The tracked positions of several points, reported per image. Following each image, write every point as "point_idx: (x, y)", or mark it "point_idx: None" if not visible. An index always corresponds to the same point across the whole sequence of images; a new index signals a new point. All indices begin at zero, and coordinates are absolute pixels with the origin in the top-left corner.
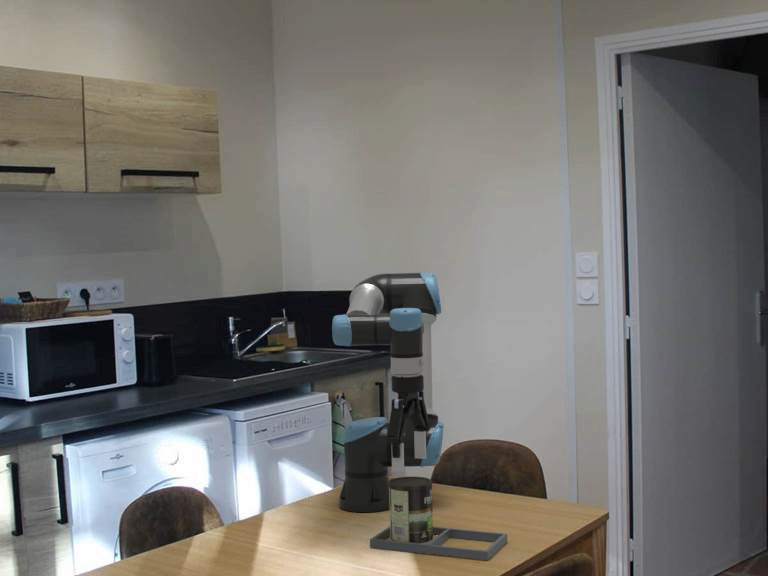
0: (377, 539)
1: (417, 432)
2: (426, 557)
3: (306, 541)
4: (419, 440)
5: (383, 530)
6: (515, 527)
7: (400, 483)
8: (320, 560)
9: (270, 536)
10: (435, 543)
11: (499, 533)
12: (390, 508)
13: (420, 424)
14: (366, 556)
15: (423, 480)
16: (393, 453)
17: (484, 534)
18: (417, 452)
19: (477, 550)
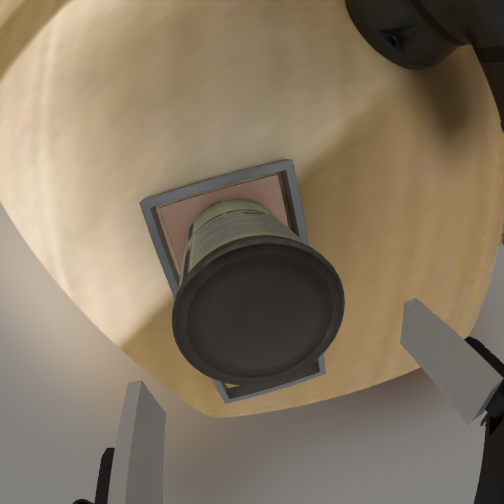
0: (149, 217)
1: (481, 399)
2: None
3: (106, 53)
4: (452, 378)
5: (219, 177)
6: (393, 325)
7: (218, 313)
8: (34, 179)
9: None
10: None
11: (322, 366)
12: (190, 247)
13: (488, 453)
14: (99, 233)
15: (306, 341)
16: (104, 469)
17: None
18: (419, 331)
19: (221, 393)
